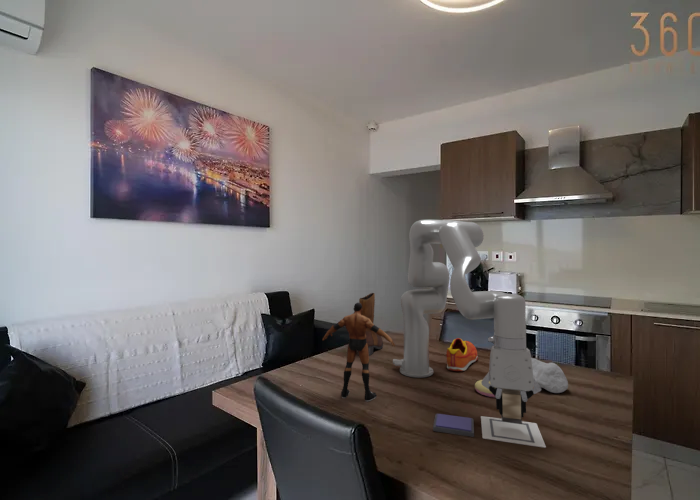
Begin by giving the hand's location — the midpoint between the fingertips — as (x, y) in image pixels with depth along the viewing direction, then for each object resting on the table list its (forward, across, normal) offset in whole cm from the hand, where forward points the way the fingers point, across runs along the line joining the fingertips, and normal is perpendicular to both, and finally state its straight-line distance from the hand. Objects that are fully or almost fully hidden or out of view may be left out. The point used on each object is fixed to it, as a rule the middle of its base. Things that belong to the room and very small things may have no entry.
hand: (510, 413), depth 91 cm
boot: (+4, -54, +62) cm, 83 cm away
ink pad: (+5, -14, -2) cm, 15 cm away
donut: (+5, -3, +25) cm, 26 cm away
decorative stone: (+5, +14, +37) cm, 40 cm away
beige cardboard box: (+1, 0, 0) cm, 1 cm away
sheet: (+5, 0, 0) cm, 5 cm away
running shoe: (+5, -12, +55) cm, 56 cm away
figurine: (+5, -44, +9) cm, 45 cm away
